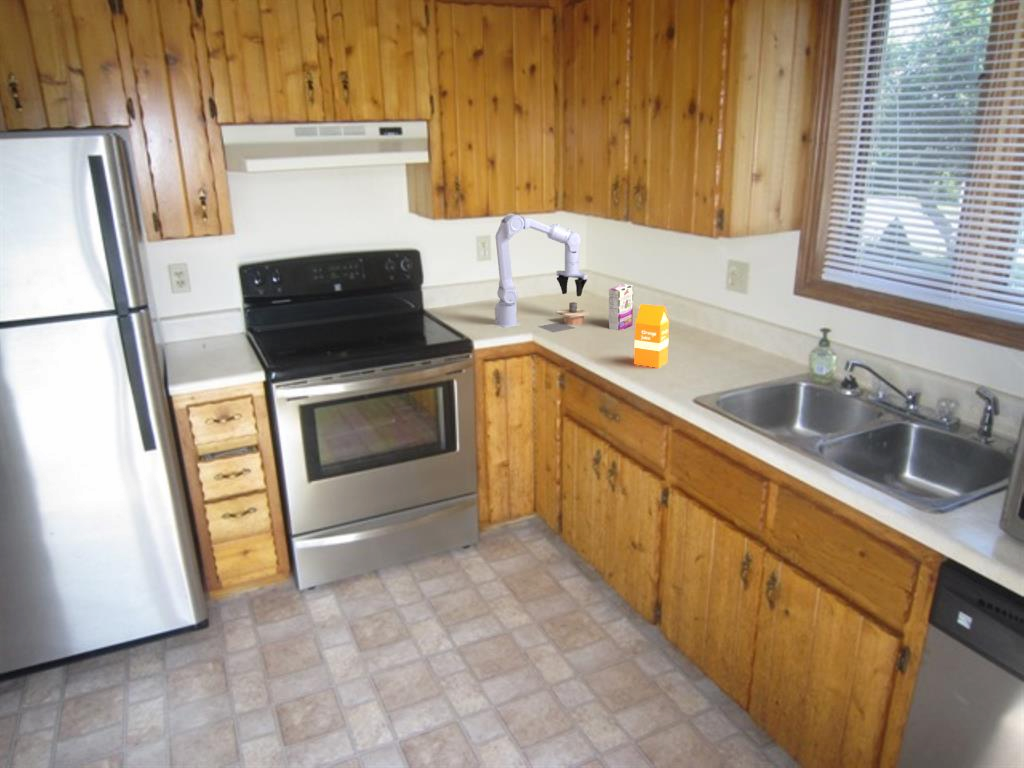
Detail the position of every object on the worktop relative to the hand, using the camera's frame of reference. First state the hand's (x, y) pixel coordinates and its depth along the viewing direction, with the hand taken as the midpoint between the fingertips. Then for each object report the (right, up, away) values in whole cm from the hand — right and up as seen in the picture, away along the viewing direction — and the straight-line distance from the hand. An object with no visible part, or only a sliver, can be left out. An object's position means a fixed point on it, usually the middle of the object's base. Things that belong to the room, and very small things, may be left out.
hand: (571, 294), depth 304 cm
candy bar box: (+18, -14, -11) cm, 26 cm away
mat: (-7, -14, -9) cm, 18 cm away
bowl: (+1, -12, -2) cm, 12 cm away
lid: (0, -8, -3) cm, 9 cm away
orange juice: (+22, -30, -56) cm, 67 cm away
